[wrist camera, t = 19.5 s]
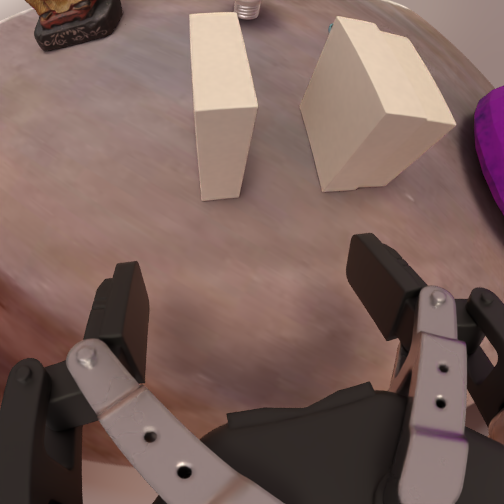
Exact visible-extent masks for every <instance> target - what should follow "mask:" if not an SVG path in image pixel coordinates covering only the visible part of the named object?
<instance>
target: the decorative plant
mask: <svg viewBox="0 0 504 504" xmlns="http://www.w3.org/2000/svg"><path fill="white" fill-rule="evenodd" d="M474 134H475V148H476V152H477V155H478V158H479V162H480V165H481V169H482V172H483V175H484V177H485V179H486V182H487V184H488V186H489V188H490V191H491V193H492V195H493V198H494V200H495V202H496V203H497V205H498V207H499V208H500V210H501V212H502V213H503V215H504V86H502V87H499V88H496V89H494V90H492V91H491V92H489V93H488V94H487V95H486V96H484V97H483V98H482V99H480V100H479V102H478V105H477V108H476V111H475V115H474Z"/></svg>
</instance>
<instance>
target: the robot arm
mask: <svg viewBox="0 0 504 504" xmlns="http://www.w3.org/2000/svg"><path fill="white" fill-rule="evenodd" d="M346 275H347V279H348V282H349V284H350V285H351V287H352V288H353V290H354V291H355V293H356V294H357V296H358V297H359V299H360V300H361V302H362V303H363V305H364V306H365V308H366V309H367V311H368V313H369V314H370V316H371V317H372V319H373V320H374V322H375V323H376V325H377V327H378V328H379V330H380V331H381V333H382V335H383V336H384V338H385V339H386V341H389V340H393V339H396V338H399V340H400V343H399V345H398V348H397V354H396V359H395V364H394V369H393V374H392V379H391V384H390V387H389V390H388V391H378V390H376V391H374V389H373V387H372V385H371V383H370V382H366V383H363V384H360V385H356V386H353V387H350V388H346V389H343V390H339V391H337V392H335V393H333V394H331V395H329V396H328V397H326V398H324V399H322V400H320V401H318V402H316V403H314V404H312V405H310V406H308V407H305V408H259V409H253V410H247V411H241V412H234V413H227V419H228V423H227V424H225V425H222V426H220V427H218V428H216V429H214V430H212V431H211V432H209V433H208V434H206V435H205V436H204V437H202V438H201V439H200V440H199V439H198V438H197V437H196V436H195V435H193V434H192V433H191V432H190V431H189V430H188V429H187V428H186V427H185V426H184V425H183V424H182V423H181V422H180V421H179V420H178V419H177V418H176V417H175V416H174V415H173V414H172V413H171V412H170V411H169V410H168V409H167V408H166V407H165V406H164V405H163V404H162V403H161V402H160V401H159V400H158V399H157V398H156V397H155V396H154V395H153V394H152V393H151V392H150V391H149V389H148V388H147V387H145V386H144V385H139V384H140V383H145V370H146V350H147V335H148V322H149V299H148V295H147V291H146V288H145V284H144V281H143V277H142V273H141V270H140V266H139V264H138V262H137V261H133V262H125V263H118V264H117V265H116V268H115V271H114V275H113V278H109V279H105V280H104V281H103V282H102V284H101V285H100V286H99V287H98V289H97V291H96V295H95V298H94V301H93V305H92V310H91V312H90V315H89V319H88V323H87V326H86V330H85V334H84V338H83V341H80V342H79V343H77V344H76V345H74V346H73V347H72V348H71V350H70V351H69V353H68V355H67V358H66V360H65V361H63V362H60V363H57V364H54V365H51V366H48V367H45V368H44V367H43V365H42V364H41V363H40V361H38V360H37V359H34V358H27V359H23V360H21V361H20V362H18V363H17V364H16V365H15V366H14V367H13V368H12V369H11V371H10V373H9V376H8V380H7V384H6V387H5V391H4V396H3V400H2V404H1V409H0V504H83V500H82V427H83V425H85V424H88V423H91V422H94V421H98V420H99V422H100V423H101V425H102V426H103V427H104V429H105V430H106V432H107V433H108V434H109V436H110V437H111V438H112V440H113V441H114V442H115V444H116V445H117V446H118V448H119V449H120V450H121V452H122V453H123V454H124V455H125V457H126V458H127V459H128V460H129V462H130V463H131V464H132V465H133V466H134V468H135V469H136V470H137V471H138V472H139V473H140V475H141V476H142V477H143V478H144V479H145V480H146V481H147V483H149V485H150V486H151V487H152V488H153V489H154V490H155V491H156V492H157V493H158V494H159V495H158V497H157V498H156V500H155V501H154V502H153V503H152V504H504V304H503V303H502V301H501V300H500V299H499V298H498V297H497V296H496V295H495V294H494V293H493V292H491V291H490V290H488V289H485V288H475V289H473V290H472V292H471V294H470V296H469V298H468V299H454V297H453V296H452V295H451V294H450V293H449V292H448V291H447V290H445V289H443V288H441V287H438V286H428V285H427V284H426V283H425V282H424V281H423V280H422V279H421V278H420V277H419V275H418V274H417V273H416V272H415V271H414V270H413V269H412V268H411V267H410V266H408V263H407V262H406V261H405V260H404V259H402V257H401V256H400V255H399V254H398V253H397V252H396V251H395V250H394V249H392V248H391V247H389V246H387V245H385V244H382V243H381V241H380V240H379V239H378V238H377V237H376V236H375V235H374V234H372V233H366V234H357V235H353V236H352V238H351V243H350V249H349V255H348V261H347V266H346ZM485 336H486V337H487V338H488V340H489V341H490V343H491V344H492V345H493V347H494V348H495V350H496V351H497V354H498V362H497V364H496V366H495V367H494V366H493V365H492V363H491V362H490V360H489V359H488V357H487V356H486V354H485V353H484V351H483V350H482V348H481V347H480V343H481V342H482V340H483V339H484V337H485ZM467 389H468V391H469V393H470V395H471V396H472V398H473V400H474V402H475V404H476V405H477V407H478V409H479V411H480V413H481V415H482V417H483V418H484V420H485V422H486V424H487V426H488V428H489V435H488V436H484V435H482V434H480V433H478V432H476V431H474V430H472V429H470V428H468V427H466V426H465V416H466V397H467Z"/></svg>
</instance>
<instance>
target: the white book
mask: <svg viewBox="0 0 504 504" xmlns="http://www.w3.org/2000/svg"><path fill="white" fill-rule="evenodd" d="M189 22H190V50H191V72H192V90H193V106H194V121H195V134H196V146H197V158H198V169H199V179H200V189H201V199H202V201H208V200H217V199H226V198H236V197H239V195H240V190H241V185H242V180H243V176H244V171H245V166H246V161H247V157H248V152H249V147H250V143H251V138H252V133H253V129H254V124H255V119H256V115H257V110H258V102H257V98H256V93H255V89H254V84H253V80H252V75H251V71H250V66H249V62H248V57H247V53H246V49H245V45H244V40H243V36H242V32H241V28H240V24H239V19H238V15H237V12H218V13H200V14H190V15H189Z"/></svg>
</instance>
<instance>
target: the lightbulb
mask: <svg viewBox="0 0 504 504" xmlns="http://www.w3.org/2000/svg"><path fill="white" fill-rule="evenodd" d="M260 4H261V0H235V5H234V11H233V12H237V15H238V18H241V19H245V20H249V19H254V18H256V17H258V15H259V10H260Z"/></svg>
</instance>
